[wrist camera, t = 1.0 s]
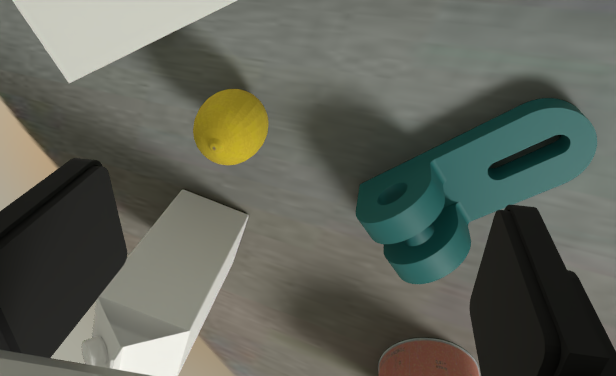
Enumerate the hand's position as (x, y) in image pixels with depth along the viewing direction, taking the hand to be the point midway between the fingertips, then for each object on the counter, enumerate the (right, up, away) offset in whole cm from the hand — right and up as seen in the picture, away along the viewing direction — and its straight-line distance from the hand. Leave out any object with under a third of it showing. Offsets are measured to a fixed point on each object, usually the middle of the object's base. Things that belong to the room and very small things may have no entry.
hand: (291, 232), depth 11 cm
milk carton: (-10, -3, +36) cm, 37 cm away
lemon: (-5, +8, +28) cm, 30 cm away
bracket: (+14, +3, +27) cm, 31 cm away
